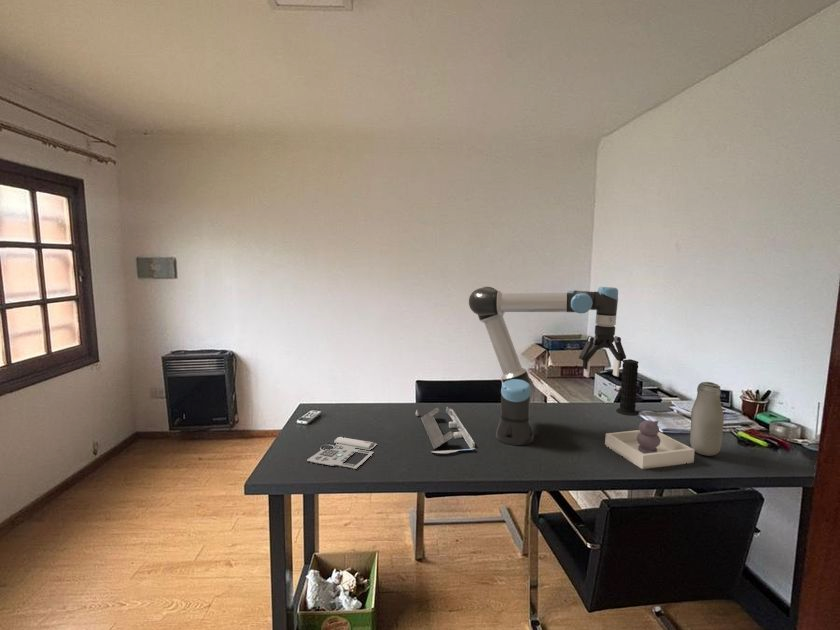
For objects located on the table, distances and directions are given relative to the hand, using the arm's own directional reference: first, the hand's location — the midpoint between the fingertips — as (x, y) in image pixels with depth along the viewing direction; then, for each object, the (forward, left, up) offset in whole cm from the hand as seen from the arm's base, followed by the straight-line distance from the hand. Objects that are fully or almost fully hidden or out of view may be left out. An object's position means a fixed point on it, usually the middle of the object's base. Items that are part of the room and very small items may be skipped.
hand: (601, 376), depth 172 cm
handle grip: (+33, +23, -26) cm, 48 cm away
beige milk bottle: (+29, -23, -26) cm, 46 cm away
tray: (+8, -18, -26) cm, 33 cm away
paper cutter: (-62, +19, -27) cm, 70 cm away
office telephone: (-104, +8, -27) cm, 107 cm away
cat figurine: (+8, -18, -25) cm, 32 cm away
